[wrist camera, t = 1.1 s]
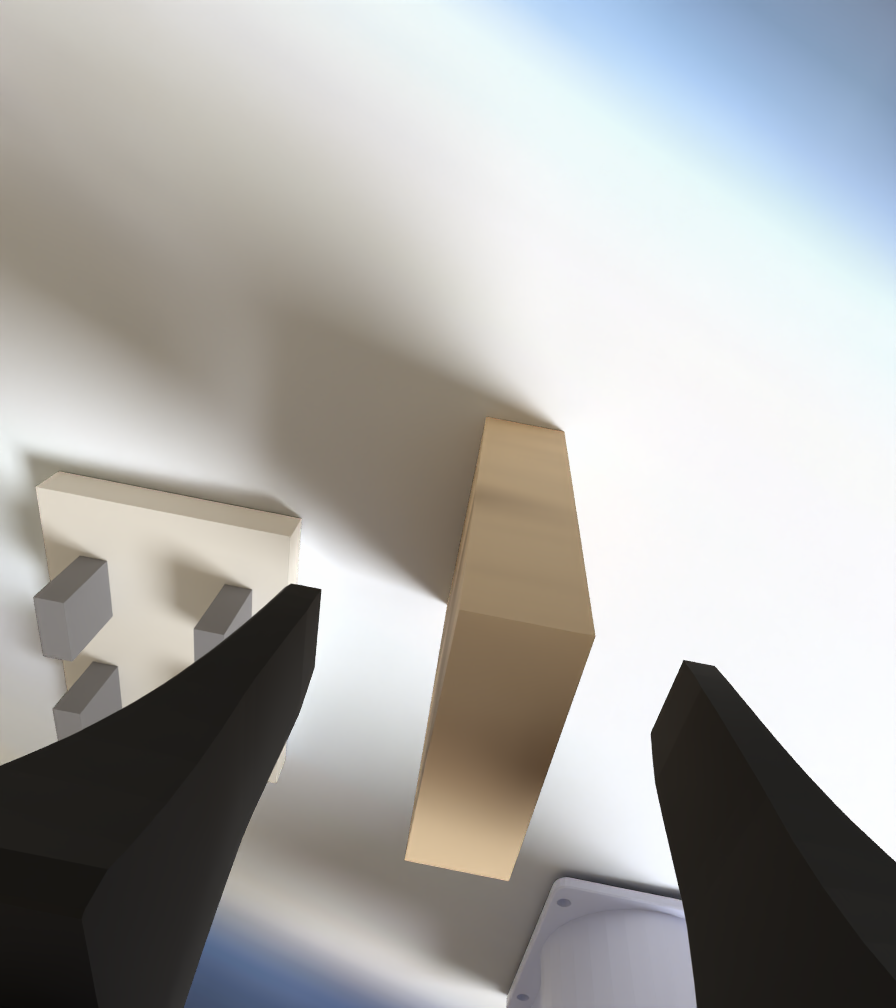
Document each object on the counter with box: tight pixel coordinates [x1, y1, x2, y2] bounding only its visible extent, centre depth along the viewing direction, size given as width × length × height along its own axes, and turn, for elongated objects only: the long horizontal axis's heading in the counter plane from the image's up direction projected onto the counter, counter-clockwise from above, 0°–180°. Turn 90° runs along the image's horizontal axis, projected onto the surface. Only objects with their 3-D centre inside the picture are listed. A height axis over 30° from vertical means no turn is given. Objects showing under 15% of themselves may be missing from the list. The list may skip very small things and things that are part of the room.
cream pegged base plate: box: [33, 471, 302, 783], centre depth 20 cm, size 10×7×3 cm
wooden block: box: [405, 417, 595, 881], centre depth 14 cm, size 6×2×8 cm, turn 170°
